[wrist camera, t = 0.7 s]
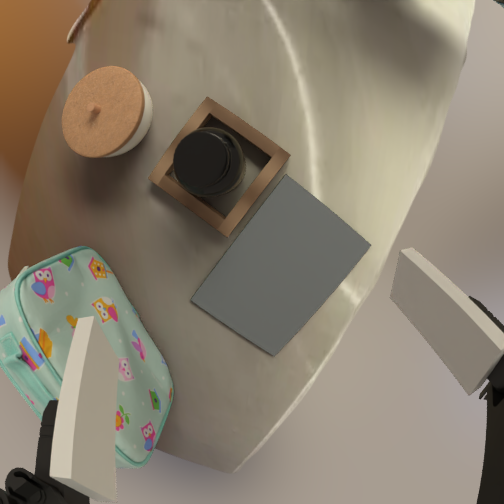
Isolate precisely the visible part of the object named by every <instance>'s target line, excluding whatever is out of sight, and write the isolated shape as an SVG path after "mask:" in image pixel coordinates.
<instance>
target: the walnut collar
mask: <svg viewBox="0 0 504 504" xmlns="http://www.w3.org/2000/svg"><path fill="white" fill-rule="evenodd" d="M211 117H214V118H215V119H217V120H218V121H220V122H221V123H223V124H224V125H226V126H227V127H228V128H230V129H231V130H233V131H234V132H236V133H237V134H239V135H240V136H241V137H243V138H244V139H246V140H247V141H248V142H250V143H251V144H253V145H254V146H255V147H257V148H258V149H259V150H261V151H262V152H263V153H265V154H266V155H268V156H269V157H270V158H271V159H270V161H269V162H268V163H267V164H266V166H265V167H264V168H263V170H262V171H261V172H260V174H259V175H258V176H257V177H256V179H255V180H254V181H253V183H252V184H251V185H250V187H249V188H248V189H247V190H246V192H245V193H244V194H243V196H242V197H241V198H240V200H239V201H238V202H237V204H236V205H235V206H234V208H233V209H232V210H231V212H230V213H229V214H228V216H227V217H225V216H224V215H223V214H221V213H220V212H218V211H217V210H216V209H214V208H213V207H212V206H210V205H209V204H208V203H206V202H205V201H204V200H202V199H201V198H200V197H198V196H197V195H194V194H192V193H190V192H188V191H187V190H185V189H184V188H183V187H182V186H181V185H180V183H179V182H178V181H176V180H175V179H174V178H172V177H171V176H170V175H169V174H170V173H171V172H172V170H173V157H174V153H175V149H176V148H177V145H178V144H179V143H180V141H181V140H182V139H183V138H184V137H185V136H186V135H188V134H189V133H190V132H192V131H194V130H197V129H200V128H203V127H204V126H205V125H206V123H207V122H208V121H209V120H210V118H211ZM289 157H290V154H289V153H287V152H286V151H285V150H283V149H282V148H281V147H279V146H278V145H277V144H275V143H274V142H273V141H271V140H270V139H269V138H267V137H266V136H264V135H263V134H262V133H260V132H259V131H258V130H256V129H255V128H253V127H252V126H250V125H249V124H248V123H246V122H245V121H243V120H242V119H240V118H239V117H237V116H236V115H235V114H233V113H232V112H230V111H229V110H227V109H226V108H224V107H223V106H221V105H220V104H218V103H217V102H215V101H213V100H212V99H210V98H209V97H206V99H205V100H204V101H203V102H202V104H201V105H200V106H199V107H198V109H197V110H196V111H195V113H194V114H193V115H192V116H191V118H190V119H189V120H188V122H187V123H186V124H185V126H184V127H183V128H182V130H181V131H180V132H179V134H178V135H177V137H176V138H175V139H174V141H173V142H172V144H171V145H170V146H169V148H168V149H167V151H166V152H165V154H164V155H163V156H162V158H161V159H160V161H159V162H158V164H157V165H156V167H155V168H154V170H153V171H152V173H151V174H150V176H149V177H148V179H149V180H151V181H152V182H153V183H155V184H156V185H157V186H159V187H160V188H161V189H163V190H164V191H165V192H167V193H168V194H169V195H171V196H172V197H174V198H175V199H176V200H178V201H179V202H180V203H182V204H183V205H184V206H186V207H187V208H188V209H190V210H191V211H192V212H194V213H195V214H196V215H198V216H199V217H200V218H202V219H203V220H204V221H206V222H207V223H209V224H210V225H211V226H213V227H214V228H215V229H217V230H218V231H219V232H221V233H222V234H223V235H225V236H226V237H228V236H229V235H230V233H231V232H232V231H233V229H234V228H235V227H236V225H237V224H238V223H239V221H240V220H241V219H242V218H243V216H244V215H245V214H246V212H247V211H248V210H249V208H250V207H251V206H252V204H253V203H254V202H255V200H256V199H257V198H258V197H259V195H260V194H261V193H262V191H263V190H264V189H265V187H266V186H267V185H268V184H269V182H270V181H271V180H272V178H273V177H274V176H275V175H276V173H277V172H278V171H279V169H280V168H281V167H282V166H283V164H284V163H285V162H286V160H287V159H288V158H289Z"/></svg>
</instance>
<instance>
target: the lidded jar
mask: <svg viewBox="0 0 504 504" xmlns="http://www.w3.org/2000/svg"><path fill="white" fill-rule="evenodd" d="M152 116H153V105H152V100H151V97H150V95H149V93H148V91H147V89H146V88H145V86H144V85H143V84H142V83H141V82H140V81H139V80H138V79H137V78H136V76H134V75H133V74H132V73H131V72H130V71H128V70H126V69H124V68H121V67H117V66H107V67H103V68H99V69H97V70H94V71H93V72H91V73H89V74H87V75H86V76H85V77H84V78H82V79H81V80H80V81H79V82H78V83H77V84H76V86H75V87H74V88H73V90H72V91H71V93H70V94H69V96H68V99H67V101H66V103H65V106H64V110H63V115H62V129H63V134H64V137H65V140H66V142H67V144H68V145H69V147H70V148H71V149H72V150H73V151H74V152H76V153H77V154H79V155H81V156H84V157H88V158H100V157H113V156H117V155H121V154H123V153H125V152H128V151H129V150H131V149H132V148H134V147H135V146H136V145H137V144H139V143H140V141H141V140H142V139H143V138H144V136H145V135H146V133H147V132H148V130H149V128H150V125H151V122H152Z"/></svg>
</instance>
